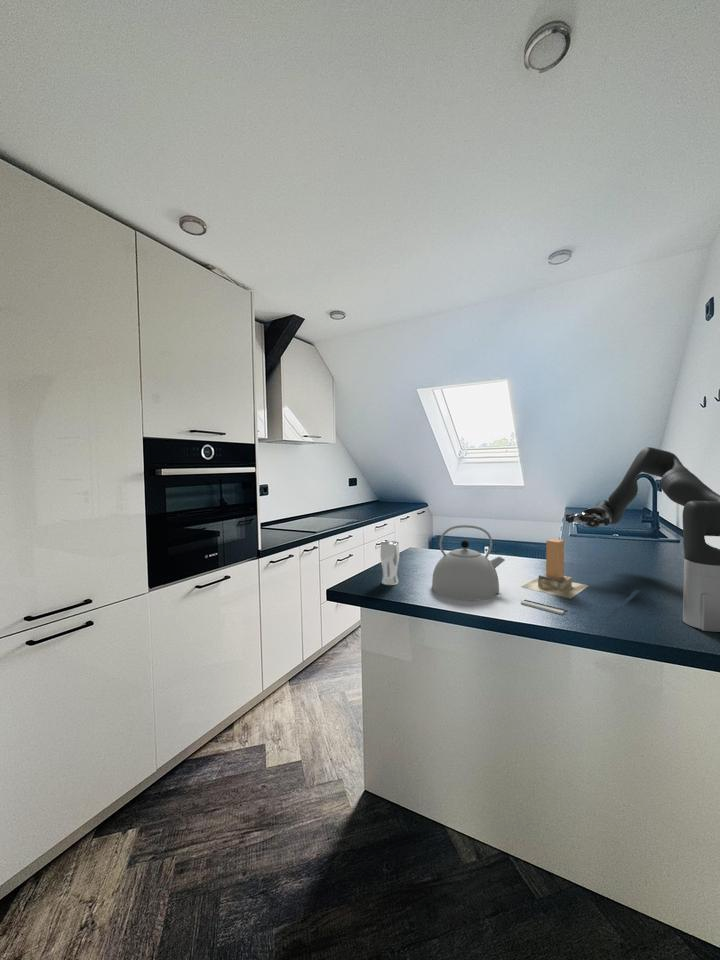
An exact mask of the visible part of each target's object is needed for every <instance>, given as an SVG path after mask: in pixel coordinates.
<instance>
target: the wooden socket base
mask: <svg viewBox="0 0 720 960" xmlns="http://www.w3.org/2000/svg"><path fill="white" fill-rule="evenodd" d="M572 579H573V578H572V576H568V575H567V576H566V575H564V579H562V580H560V579H555V578H550V577H546V573H545V574H543V575H541V574H539V575H538V578H535V579H534V580H532V581H529V582H527V583H526V584H523V585H521V586H520V588H522V589H528V590H531V591H536V592H541V593H545V594H548V595H553V596H558V597H563V598H567V599H572V598H573V597H575V596H577V595H578V594H579V593H581V592H582V591H584V590H585V589H587V588H588V587H589V586H590V585H587V584H585V583H583V584H582V583H578V582H573V581H572Z"/></svg>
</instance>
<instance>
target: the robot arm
mask: <svg viewBox="0 0 720 960" xmlns="http://www.w3.org/2000/svg"><path fill="white" fill-rule="evenodd" d="M641 473H645V474H648V475H652V476H655V477H659V478H660V480H659V481H660V482H659V483H660V484H659V485H660V486H659V487H660V488H661V491H662V492H663V493H664V494H665V495H666V497H667V498H668V499H670V500H671V501H672V502H673V503H676V504H677V505H680V506H682V507H683V510H682V535H683V537H682V539H683V541H682V543H683V555H684V558H683V586H682V587H683V588H682V589H683V590H682V591H683V595H682V621H683V622H684V623H685V624H686V625H687V626H691V627H693V628H697V629H699V630H701V631H703V632H715V633H717V632H718V633H720V548H718V547H714V546H713V545H709V544H708V543H707V542H706V539H705V537H720V494H718V493H717V492H715V491H714V490H713V489H711V488H710V487H709V486H707V485H706V484H705V483H704V482H702V481H701V479H700V478H698V477H697V476H696V475H695V474H694V473H692V472H691V471H690V470H689V469H688V468H687V467H685V466H684V464H683V463H682V462H681V461H680V459H679V458H678V456H677V455H676V454H674V453H673V452H671V451H667V450H664V449H659V448H656V447H650V446H649V447H648V446H647V447H644V448H642V449H641V450H640V451H639V452H638V454H637V455H636V457H635V458H634V460H633V461H632V463H631V465H630V467H629V468H628V470H627V471H626V473H625V474H624V476H623V479H622V480H621V481H620V483H619V485H618V486H617V487H616V488H615V489H614V491H612V493H611V494H610V495H609V497H608V500H605V499H604V500H600V501H599V502H597V503H596V504H595V505H594V506H591V507H589V508H586V509H584V510H583V511H582V513H573V512H572V513H568V514H567V513H566V514H565V522H567V523H570V524H571V523H575V524H584V525H586V526H587V527H588V528H597V527H599V526H602V525H604V526H609V525H616V524H619V523H620V522H621V520H622V518H623V516H624V515H625V511H626V509H627V507H628V506H629V505H630V504H631V502H632V501H633V500H634V499H635V498H636V497H637V494H638V491H639V490H638V489H639V486H638V476H639V475H640V474H641Z"/></svg>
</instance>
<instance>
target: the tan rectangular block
mask: <svg viewBox="0 0 720 960" xmlns="http://www.w3.org/2000/svg"><path fill="white" fill-rule="evenodd" d="M545 542H546V543H545V545H546V546H545V547H546V549H545V550H546V551H545V552H546V554H545V555H546V556H545V560H546V561H545V563H546V564H545V574H546V577H550V578H555V579H560V580H562V579H564V576H565V540H564V539H559V538H558V539H557V538H549V539H546V541H545Z"/></svg>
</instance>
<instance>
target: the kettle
mask: <svg viewBox="0 0 720 960" xmlns="http://www.w3.org/2000/svg"><path fill="white" fill-rule="evenodd" d="M459 528H463V529H464V528H468V529H476V530H480V531H482V532H484V534H486V535H487V537H488V540H489V547H488V550H487V553H486V554H485V555H483V554H482V553H481V552H479V551H477V550H474V549H470V548H468V547H469V545H470V544H469V542H468V541H467V540H462V541H461V542H460V543H461V544H460V545H461V547H462V548H456V549H453V550H451V551H449V552H447V553H446V552H445V551H444V549H443V545H442V543H443V539H444V537H445V535H446V534H447V533H448V532H449V531H452V530H455V529H459ZM438 544H439V549H440V552H441V553H442V555H443V556H442V557H441V558H440V559H439V560H438V562H437V563H436V564H435V567H434V570H433V573H432V579H431V581H432V582H431V583H432V584H431V589H432V590H433V591H434V592H435V593H437V594H438V595H440V596H443V597H447V598H450V599H455V600H461V601H484V600H489V599H492V598H495V597H497V596H498V595H499V591H500V590H499V589H500V581H499V576H498V572H497V570H496V568H498V567H499V566H500V565H501V564H502V563H504V562H505V561H506V559H505V558H503V557H502V556H496V557H494V558H493V559H491V560H489V558H488V557H489V555H490V553H491V552H492V549H493V539H492V536H491V534H490V533H489V532H488V531H487V530H486V529H484V528H482V527H481V526H476V525H471V524H470V525H468V524H463V525H462V524H461V525H453V526H451V527H449V528H447V529H446V530H444V531H443V533H442V534H441V535H440V537H439V543H438Z"/></svg>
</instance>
